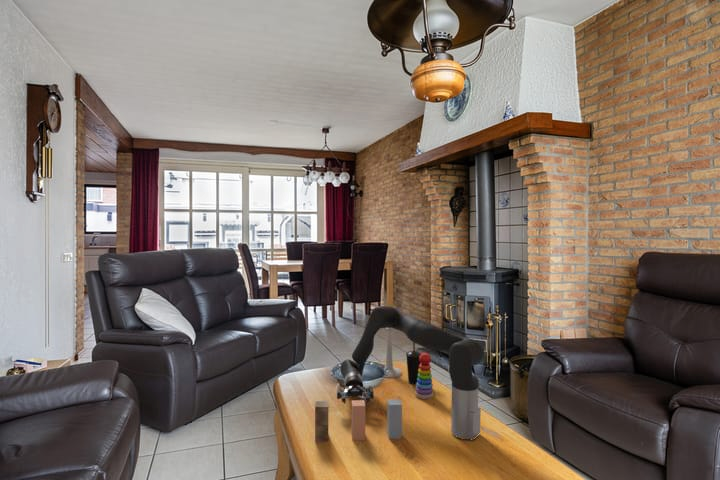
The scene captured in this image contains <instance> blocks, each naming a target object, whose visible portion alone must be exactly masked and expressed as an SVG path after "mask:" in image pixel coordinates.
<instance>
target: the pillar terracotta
mask: <svg viewBox="0 0 720 480" xmlns="http://www.w3.org/2000/svg"><path fill="white" fill-rule="evenodd" d="M351 440H352V441H366V400H364V399H359V400H351Z"/></svg>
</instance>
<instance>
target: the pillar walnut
mask: <svg viewBox="0 0 720 480" xmlns="http://www.w3.org/2000/svg"><path fill="white" fill-rule="evenodd" d="M314 403H315V405H314V411H315V412H314V431H315V432H314V442H315V443H317V442H319V443H320V442H329V401H328V400H320V401H318V400H317V401H315V402H314Z"/></svg>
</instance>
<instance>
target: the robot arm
mask: <svg viewBox="0 0 720 480" xmlns="http://www.w3.org/2000/svg"><path fill="white" fill-rule="evenodd" d="M386 328H393V329H395V330H398V331H400V332H402V333H404V335H405V336H406V337H407V338H408V339H409V341H411V342H412V343H413V342H414V343H415V345H416V344H417V345H418V346H421V347H424V348H426V349H431V350H439V351H445V352H448V367H449V378H450V380H451V408H450V409H451V414H450V416H451V417H450V418H451V424H450V425H451V426H450V427H451V428H450V430H451V432H452V433H451V434H452V435H453V436H454V435H455V436H457V437H459V438H463V439H472V440H473V439H474V438H475V437H476V436H477V435H478V434H479V433H480V434H481V414H482V413H481V408H480V407H479V385H480V382H479V379H478V377H476V376H475V375H473V367H475V366H476V365H478V364H480V363H481V362H482V361H483V360H484V357H485V350H484V348H483V347H482V345H481V344H480V343H479V342H478V341H476V340H475V339H472V338H469V337H465V336H462V335H458V334H455V333H452V332H450V331H448V330H445V329H443V328H441V327H439V326H436V325H433V324H432V323H430V322H426V321H424V320H422V319H420V318H416V317H414V316H411V315H407V314H406V313H404V312H402V311H400V310H399V309H397V308H396V307H393V306H388V305H386V306H385V305H384V306H383V305H380V306H379V305H377V306H375V307H374V308H373V309H372V310H371V312H370V314H369V317H368V319H367V322H366V325H365V328H364V331H363V334H362V336H361V338H360V340H359V342H358V344H357V345H356V346H355V349H354V350H353V352H352V354H351V359H352V360H351V359H348V358H347V359H344V360H343V361H342V362H341V364H340V367H339V368H340V370H339V371H340V374H341V376H342V377H343V378H344V388H342V387H341V386H337V390H336V391H337V392H336V399H338V400H339V399H341V402H342V403H343V404H346V401H347V399H349V398H351V397H352V398H355V397H359V398H362V399H365V404H369V402H370V401H371V399H374V389H373V386H370V385H369V386H368V387H367V388H366V387H365V386H364V381H363V378H362V376H363V373H364V369H365V366H366V362H367V361H368V359H369V358H370V356H371V354H372V352H373V350H374V344H375V340H374V339H375V336H376V334H377V333H378V332H379V331H380V329H386ZM455 436H454V437H455ZM457 437H456V438H457ZM459 438H458V439H459ZM463 439H462V440H463ZM473 441H474V440H473Z"/></svg>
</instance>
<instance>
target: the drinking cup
mask: <svg viewBox="0 0 720 480" xmlns="http://www.w3.org/2000/svg"><path fill="white" fill-rule="evenodd" d="M412 344H413V345H412V346H413V347H412V348H413V350H410V351H407V352H406V353H405V355H406V367H407V368H406V369H407V376H408V377H407V379H408V380H407V381H408V384H411V385H416V384H417V378H418V373H419V372H418V370H419V365H420V364H421V362H420V360H419V357H420V355H421V354H422V352H420V351H417V350H416V343H414V342H412Z"/></svg>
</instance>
